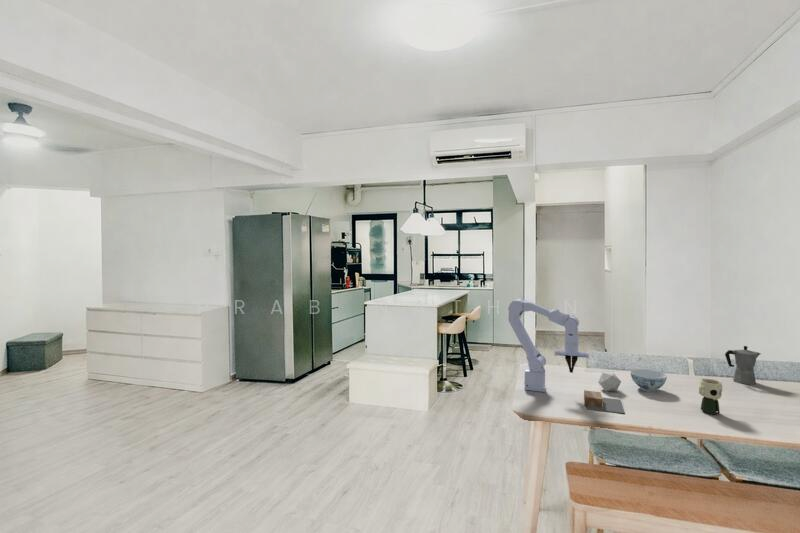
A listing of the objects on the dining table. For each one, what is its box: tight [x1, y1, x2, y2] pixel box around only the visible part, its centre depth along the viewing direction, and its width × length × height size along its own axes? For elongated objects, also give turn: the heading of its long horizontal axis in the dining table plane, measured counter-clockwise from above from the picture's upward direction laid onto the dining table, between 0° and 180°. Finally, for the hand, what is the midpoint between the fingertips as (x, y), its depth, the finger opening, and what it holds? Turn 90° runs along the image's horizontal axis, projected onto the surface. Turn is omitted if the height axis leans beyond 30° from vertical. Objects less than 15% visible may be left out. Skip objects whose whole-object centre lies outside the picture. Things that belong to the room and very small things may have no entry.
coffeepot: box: [724, 345, 761, 386], centre depth 212 cm, size 15×9×18 cm, turn 79°
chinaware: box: [629, 368, 668, 393], centre depth 202 cm, size 15×15×8 cm
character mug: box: [698, 378, 723, 415], centre depth 174 cm, size 11×7×13 cm, turn 101°
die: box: [597, 372, 622, 392], centre depth 202 cm, size 8×9×10 cm
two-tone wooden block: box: [583, 389, 604, 407], centre depth 185 cm, size 4×9×7 cm
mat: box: [586, 396, 625, 415], centre depth 184 cm, size 14×16×1 cm
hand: (571, 371), depth 196 cm, fingers closed
